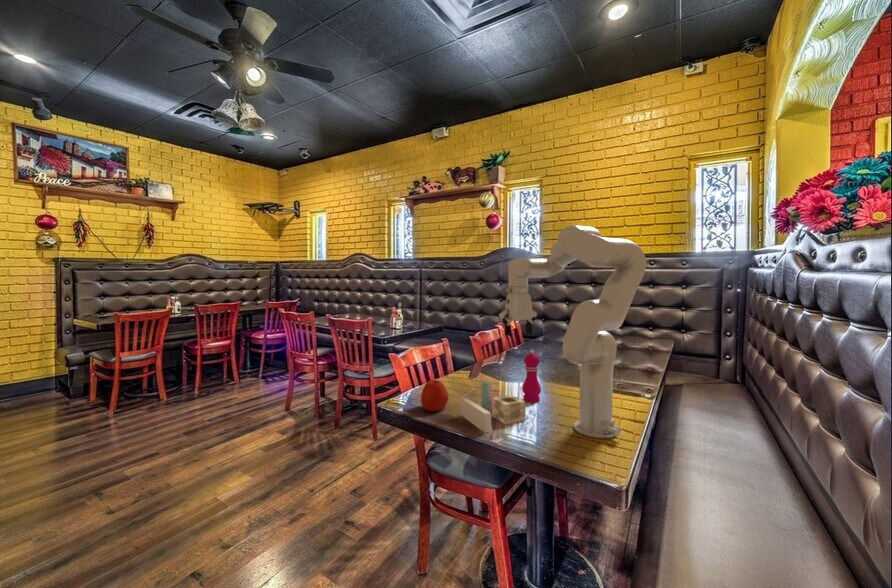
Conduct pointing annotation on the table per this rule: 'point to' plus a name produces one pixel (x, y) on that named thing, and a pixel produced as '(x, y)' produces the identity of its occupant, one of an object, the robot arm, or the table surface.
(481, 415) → the wall
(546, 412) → the table surface
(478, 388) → the table surface
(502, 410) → the block
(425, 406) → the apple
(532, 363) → the pepper mill
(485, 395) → the dowel
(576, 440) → the table surface
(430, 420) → the table surface
